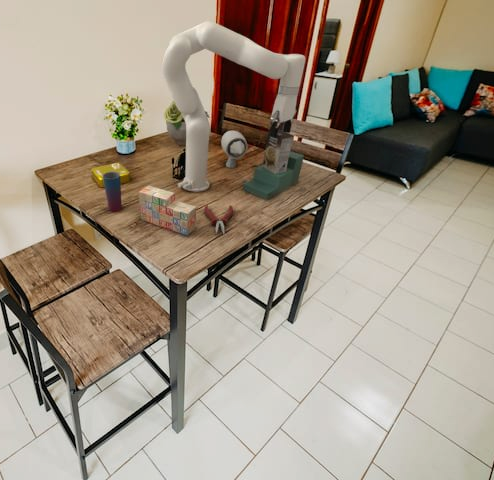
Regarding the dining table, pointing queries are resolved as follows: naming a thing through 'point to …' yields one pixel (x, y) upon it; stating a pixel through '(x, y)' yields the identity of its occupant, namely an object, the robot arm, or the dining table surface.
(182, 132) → the potted succulent plant
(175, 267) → the dining table surface
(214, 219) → the pliers
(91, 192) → the dining table surface
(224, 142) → the white rounded piece
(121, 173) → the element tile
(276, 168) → the coffee box
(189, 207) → the stack of blocks
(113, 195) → the cup
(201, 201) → the dining table surface
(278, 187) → the step shelf
